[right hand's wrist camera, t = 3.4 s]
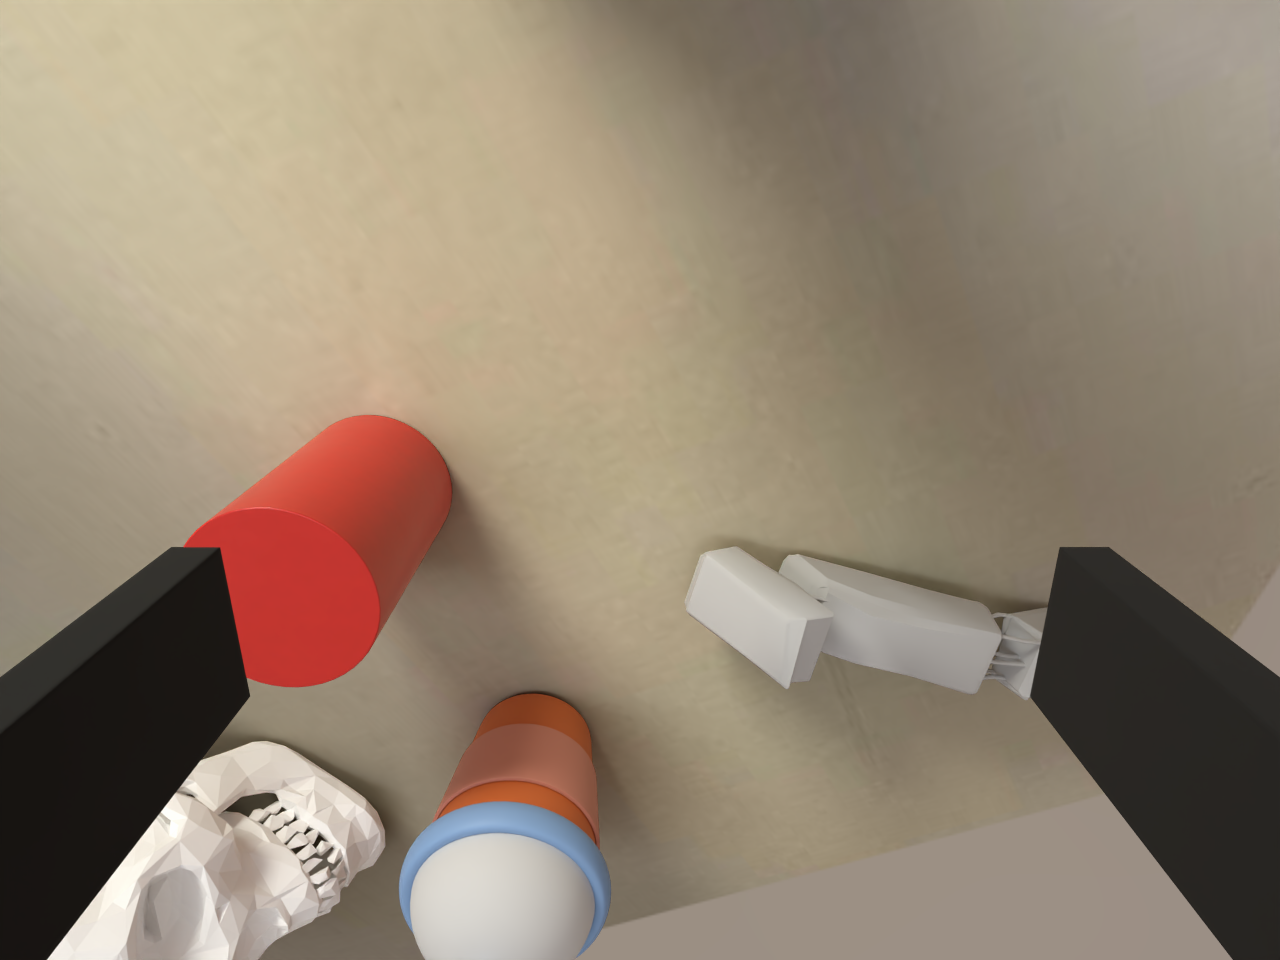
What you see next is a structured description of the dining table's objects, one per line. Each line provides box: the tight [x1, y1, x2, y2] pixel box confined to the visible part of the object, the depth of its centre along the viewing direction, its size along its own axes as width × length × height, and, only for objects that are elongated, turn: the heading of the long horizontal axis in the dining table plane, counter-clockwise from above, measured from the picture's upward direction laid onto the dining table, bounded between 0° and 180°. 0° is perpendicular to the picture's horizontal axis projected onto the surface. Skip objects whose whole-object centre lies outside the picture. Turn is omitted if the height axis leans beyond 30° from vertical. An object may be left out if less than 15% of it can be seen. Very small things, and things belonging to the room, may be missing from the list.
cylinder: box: [184, 415, 452, 687], centre depth 33 cm, size 7×7×11 cm
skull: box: [47, 741, 385, 960], centre depth 38 cm, size 13×22×16 cm, turn 89°
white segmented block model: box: [685, 546, 1048, 700], centre depth 38 cm, size 20×4×7 cm, turn 77°
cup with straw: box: [399, 694, 611, 960], centre depth 35 cm, size 9×9×18 cm
